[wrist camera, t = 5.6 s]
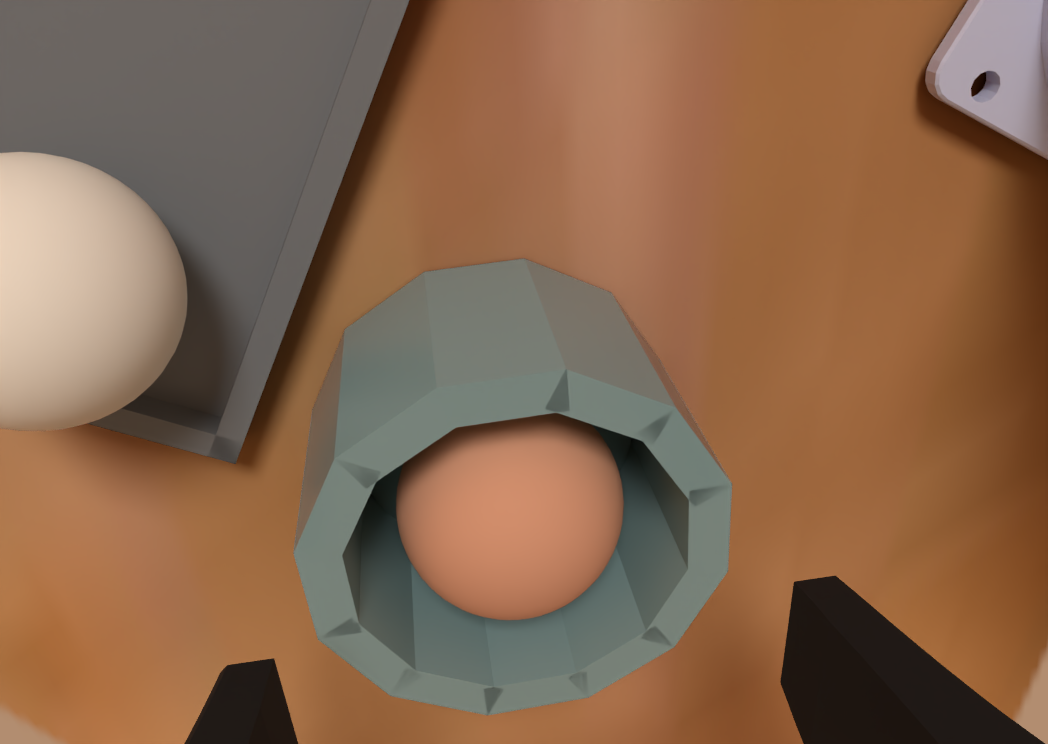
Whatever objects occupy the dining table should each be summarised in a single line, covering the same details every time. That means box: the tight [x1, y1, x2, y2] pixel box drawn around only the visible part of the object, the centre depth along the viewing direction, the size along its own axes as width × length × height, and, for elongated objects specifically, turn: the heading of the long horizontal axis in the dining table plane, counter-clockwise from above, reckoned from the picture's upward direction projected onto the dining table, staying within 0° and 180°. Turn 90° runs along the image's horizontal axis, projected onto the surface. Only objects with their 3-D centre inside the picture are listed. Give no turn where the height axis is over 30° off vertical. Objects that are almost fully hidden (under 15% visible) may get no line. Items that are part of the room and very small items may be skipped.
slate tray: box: [0, 0, 409, 464], centre depth 13 cm, size 7×12×1 cm, turn 155°
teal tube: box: [293, 259, 732, 715], centre depth 16 cm, size 7×7×4 cm
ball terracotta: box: [396, 413, 624, 620], centre depth 15 cm, size 4×4×4 cm
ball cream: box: [0, 152, 187, 431], centre depth 13 cm, size 4×4×4 cm
